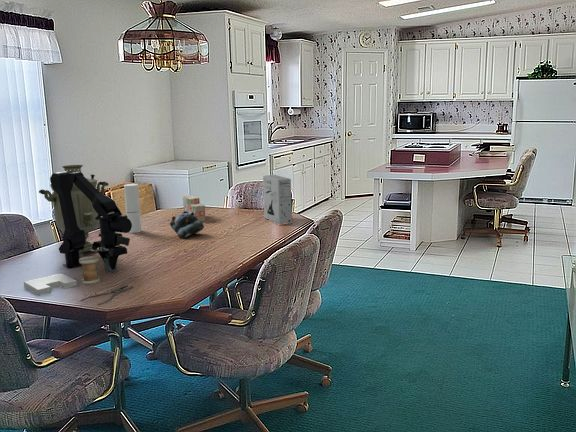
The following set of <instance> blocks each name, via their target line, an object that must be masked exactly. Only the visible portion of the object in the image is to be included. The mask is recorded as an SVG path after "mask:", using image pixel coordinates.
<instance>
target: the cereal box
mask: <svg viewBox="0 0 576 432" xmlns="http://www.w3.org/2000/svg"><path fill="white" fill-rule="evenodd" d="M262 185H263V186H262V187H263V189H262V190H263V210H264V211H263V215H264V217H265V218H267V219H269V220H271V221H274V222H276V223H278V224H283V223H292V224H293V218H292V217H293V216H292V179H291V178H290V177H289V178H288V177H285V176H281V175H277V174H268V175H262ZM265 218H264V219H265ZM267 219H266V220H267ZM269 220H268V221H269ZM271 221H270V222H271ZM276 223H275V224H276ZM278 224H277V225H278Z"/></svg>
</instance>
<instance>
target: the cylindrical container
mask: <svg viewBox="0 0 576 432" xmlns="http://www.w3.org/2000/svg"><path fill="white" fill-rule="evenodd" d="M123 190H124V191H123V192H124V200H125V201H124V202H125V214H126V215H127V218H128V219H129V220H130V221H131V223H132V228H131V230H130V231H129V232H128V233H129V234H135V233H137V234H138V233H140V232H142V222H141V221H142V220H141V219H142V218H141V207H140V194H139V193H140V192H139V184H138V183H127V184H124V185H123ZM128 233H127V234H128Z"/></svg>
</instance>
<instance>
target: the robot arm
mask: <svg viewBox="0 0 576 432" xmlns="http://www.w3.org/2000/svg"><path fill="white" fill-rule="evenodd" d="M67 171H68V170H67ZM67 171H65V170H64V171H61V172H60V171H58V172H53V173H51V176H50V177H49V181H50V184H51V185H52V188H53V190H54V191H55V192H56V193H57V194H58V197H59V201H60V206H61V211H62V216H63V221H64V225H65V231H64V232H63V235H62V243H61V245H60V246H59V247H58V251H59V254H63V255H64V257H65V259H64V260H65V263H63V264H62V267H65V268H67V269H72V268H77V267H81V266H82V267H83V264H81V263H79V259H80V258H81V254H79V250H83V249H84V244H85V239H86V237H85V233H84V230H81V229H80V228H79V227H78V225H77V220H76V215H75V211H74V206H73V201H72V196H71V190H72V188H73V183H74V184H75V185H76V186H77V188H78V189H79V190H80V191H81V192H82V193H83V194H84V195H85V196H86V197H87V198H88V199H89V200H90V201H91V202H92V207H93V208H94V210H95V211H96V212H97V214H98V216H97V217H96V218H95V220H99V222H100V223H99V232H100V233H98V237H100V240H97V241H93V243H92V249H94V250H97V249H98V250H99V251H96V253H98V255H99V256H100V258H101V260H102V261H103V262H104V258H105V257H107V259H108V261H109V264H110V266H111V268H112V270H114V269H115V267H116V263H117V264H118V258H119V257H120V256H122V255H123V256H124V255H127V254H128V248H127V247H128V246H130V242H131V238H130V237H126V236H123V233H124V234H128V232H129V231H130V230H131V228H132V223H131V221H130V220H129V219H128V218H127V215H125V214H124V215H123V213H122V212H121V210H120V208H119V207H118V205H117V204H116V202H115V200H114V199H112V198H111V197H109V196H108V195H106V194H104V193H103V194H101V193H100V192H101V191H98V190H97V187H96V188H95V187H94V186H93V185H92V184H91V183H90V182H89V181H88V180H87V179H86V176H85V175H84V174H83V172H82V171H81V172H74V173H69V172H67ZM52 188H51V189H52ZM53 190H52V191H53ZM86 240H87V239H86ZM122 245H123V246H122ZM125 246H126V247H125ZM92 249H91V250H92ZM94 250H93V251H94Z"/></svg>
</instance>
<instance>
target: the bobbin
mask: <svg viewBox="0 0 576 432" xmlns="http://www.w3.org/2000/svg"><path fill="white" fill-rule="evenodd" d="M99 261H100V260H99V257H98V256H96V255H95V256H93V255H91V256H83V257H80V259H79V263H81V264H83V265H82V273H83V278H81V279H80V284H82V285H95V284H99V283H100V282H101V277H100V276H98V272H97V271H98V270H97V263H98V262H99Z"/></svg>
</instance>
